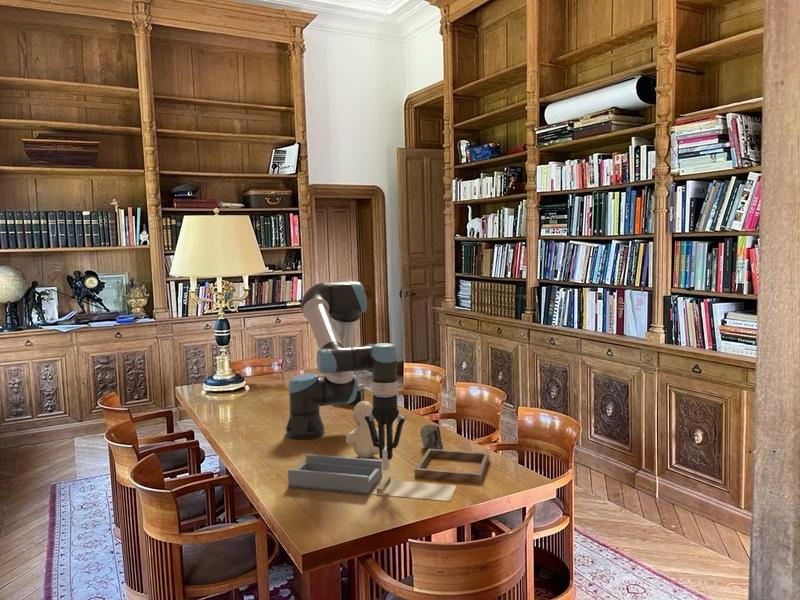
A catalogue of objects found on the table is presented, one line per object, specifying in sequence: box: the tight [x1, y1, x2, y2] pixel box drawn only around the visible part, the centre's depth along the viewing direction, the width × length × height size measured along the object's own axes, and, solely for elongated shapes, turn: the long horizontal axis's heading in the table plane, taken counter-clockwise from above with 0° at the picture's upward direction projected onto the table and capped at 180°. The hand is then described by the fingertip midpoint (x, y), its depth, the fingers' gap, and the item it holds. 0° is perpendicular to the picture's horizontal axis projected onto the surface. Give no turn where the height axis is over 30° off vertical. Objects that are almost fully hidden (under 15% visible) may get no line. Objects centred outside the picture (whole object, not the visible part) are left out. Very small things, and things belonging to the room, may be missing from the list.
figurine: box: [345, 400, 379, 459], centre depth 218 cm, size 14×9×20 cm
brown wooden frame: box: [414, 448, 490, 484], centre depth 207 cm, size 21×20×2 cm
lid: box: [369, 475, 457, 503], centre depth 190 cm, size 25×12×2 cm, turn 75°
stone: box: [420, 424, 444, 450], centre depth 227 cm, size 10×10×10 cm
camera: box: [347, 382, 365, 406], centre depth 293 cm, size 14×8×10 cm, turn 58°
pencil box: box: [287, 453, 383, 496], centre depth 196 cm, size 26×15×6 cm, turn 75°
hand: (386, 468), depth 192 cm, fingers closed
